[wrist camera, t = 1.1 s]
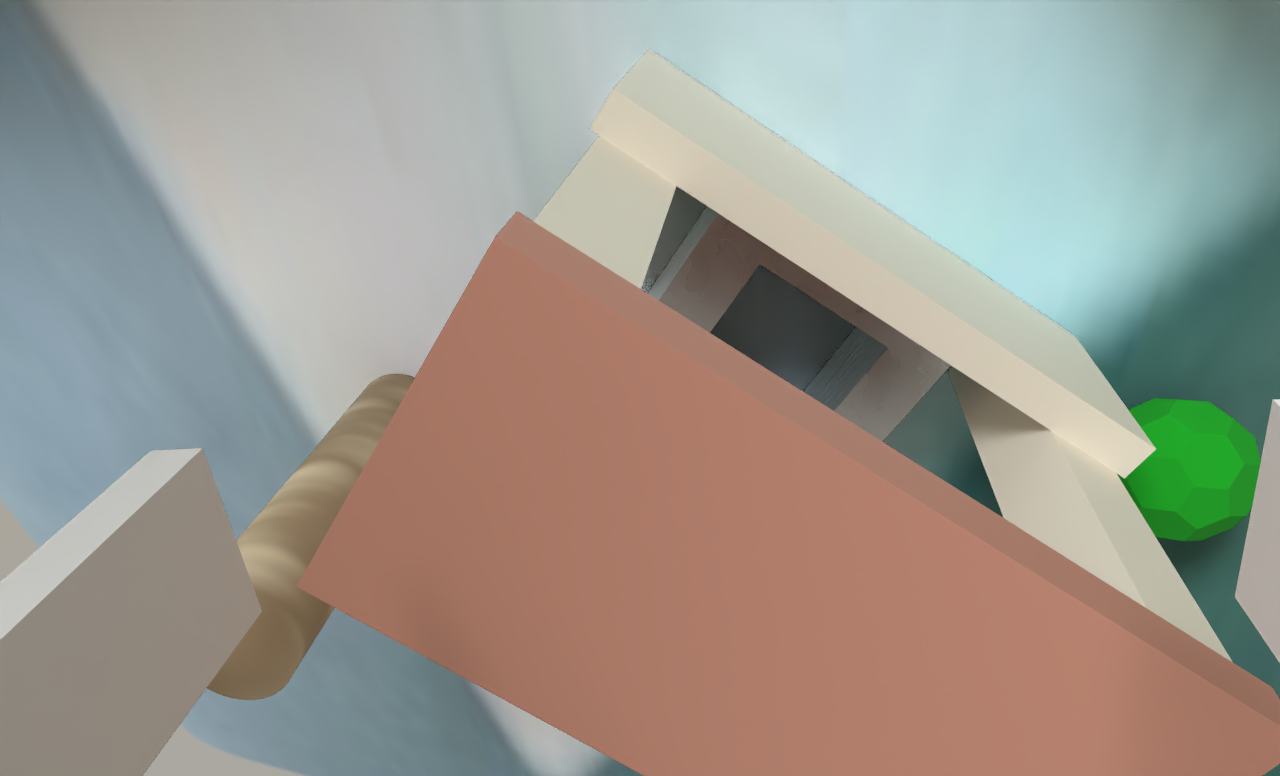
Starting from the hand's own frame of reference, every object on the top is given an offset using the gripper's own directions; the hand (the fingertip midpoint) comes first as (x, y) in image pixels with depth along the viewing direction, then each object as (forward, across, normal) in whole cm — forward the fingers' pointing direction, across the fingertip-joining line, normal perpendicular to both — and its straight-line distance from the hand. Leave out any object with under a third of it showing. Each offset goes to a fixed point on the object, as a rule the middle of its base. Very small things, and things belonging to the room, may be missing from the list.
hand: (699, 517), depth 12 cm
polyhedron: (+23, +14, -12) cm, 30 cm away
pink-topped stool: (+23, +1, -6) cm, 23 cm away
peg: (+23, -14, -10) cm, 29 cm away
